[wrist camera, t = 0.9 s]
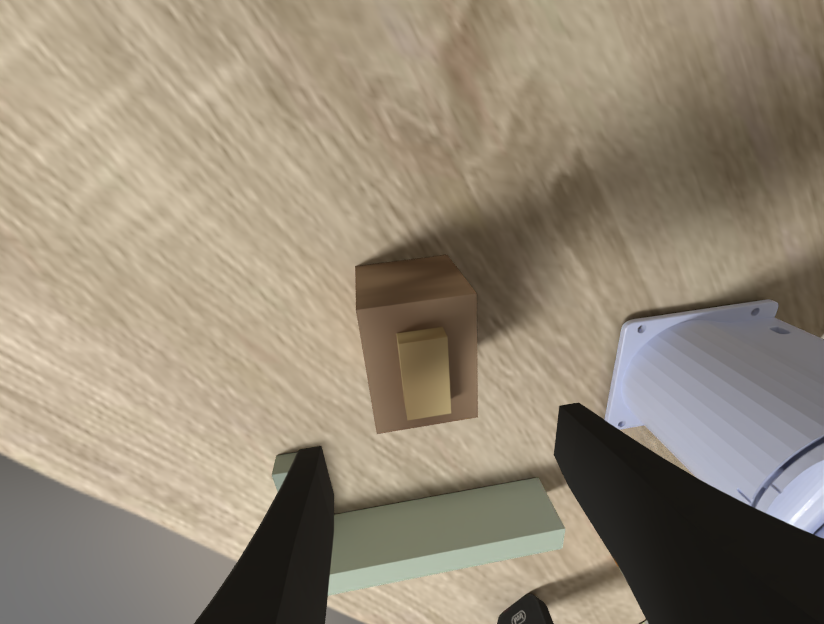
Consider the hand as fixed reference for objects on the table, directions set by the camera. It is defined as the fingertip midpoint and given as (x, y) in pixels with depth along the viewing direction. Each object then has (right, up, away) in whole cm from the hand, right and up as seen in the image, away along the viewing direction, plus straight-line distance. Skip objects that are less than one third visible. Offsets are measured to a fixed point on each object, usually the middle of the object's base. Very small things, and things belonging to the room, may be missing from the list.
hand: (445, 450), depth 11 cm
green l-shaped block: (-1, -7, +13) cm, 15 cm away
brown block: (-1, +4, +8) cm, 9 cm away
